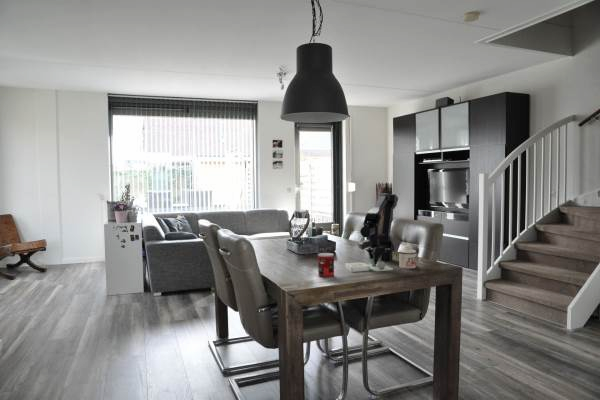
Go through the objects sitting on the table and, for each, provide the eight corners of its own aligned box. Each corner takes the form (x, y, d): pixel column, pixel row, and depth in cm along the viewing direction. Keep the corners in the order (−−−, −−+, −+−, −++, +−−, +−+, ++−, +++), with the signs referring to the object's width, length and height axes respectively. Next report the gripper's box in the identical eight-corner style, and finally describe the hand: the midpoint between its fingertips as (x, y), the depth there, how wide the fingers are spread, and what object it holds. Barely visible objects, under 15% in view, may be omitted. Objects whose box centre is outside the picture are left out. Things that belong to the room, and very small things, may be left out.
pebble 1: (375, 264, 238) (375, 257, 238) (378, 265, 234) (378, 258, 234) (369, 264, 237) (368, 257, 237) (371, 266, 233) (371, 259, 233)
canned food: (317, 274, 221) (317, 253, 220) (332, 273, 221) (332, 252, 221) (319, 277, 213) (318, 255, 212) (335, 277, 214) (334, 255, 213)
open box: (362, 267, 234) (362, 262, 234) (369, 271, 224) (369, 265, 224) (344, 269, 231) (344, 263, 231) (351, 273, 222) (351, 267, 221)
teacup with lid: (407, 270, 225) (407, 248, 224) (395, 267, 233) (395, 246, 232) (424, 267, 231) (423, 246, 230) (411, 264, 239) (411, 243, 238)
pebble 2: (383, 268, 229) (383, 260, 229) (386, 269, 225) (386, 262, 225) (376, 268, 228) (376, 261, 228) (379, 270, 224) (379, 262, 224)
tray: (378, 264, 241) (378, 262, 241) (393, 271, 224) (393, 268, 224) (362, 265, 239) (362, 263, 239) (375, 272, 222) (375, 270, 222)
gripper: (353, 233, 242) (353, 261, 243) (366, 238, 224) (366, 267, 225) (371, 232, 245) (372, 259, 246) (386, 236, 227) (386, 266, 228)
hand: (373, 263), depth 236 cm, fingers closed on pebble 1, 4 cm apart
